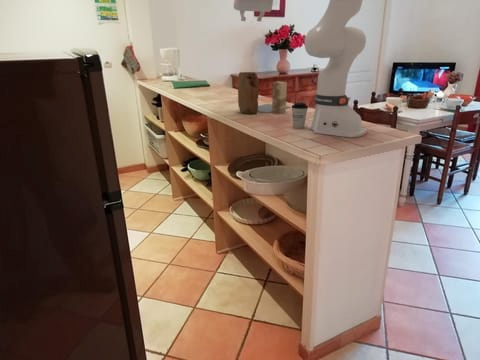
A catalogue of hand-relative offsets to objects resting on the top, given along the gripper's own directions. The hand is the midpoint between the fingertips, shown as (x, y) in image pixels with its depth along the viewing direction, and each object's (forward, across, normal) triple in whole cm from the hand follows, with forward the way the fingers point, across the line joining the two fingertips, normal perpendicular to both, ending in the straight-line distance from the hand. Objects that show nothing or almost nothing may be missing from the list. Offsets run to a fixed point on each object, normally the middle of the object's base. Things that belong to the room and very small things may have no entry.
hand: (251, 21), depth 167 cm
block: (+41, -5, -16) cm, 44 cm away
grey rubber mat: (+41, +10, -12) cm, 44 cm away
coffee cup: (+31, -6, -53) cm, 62 cm away
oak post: (+38, +8, -23) cm, 46 cm away
